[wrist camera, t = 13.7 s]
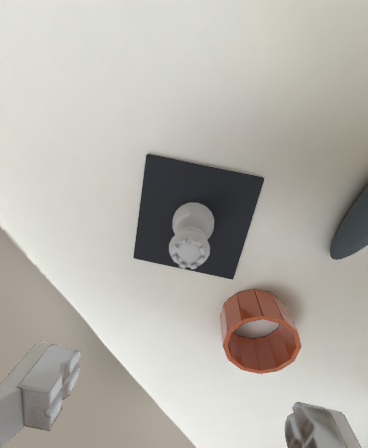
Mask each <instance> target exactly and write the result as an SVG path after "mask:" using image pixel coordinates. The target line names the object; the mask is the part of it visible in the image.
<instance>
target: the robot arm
mask: <svg viewBox="0 0 368 448" xmlns="http://www.w3.org/2000/svg"><path fill="white" fill-rule="evenodd" d="M79 358H80V351H78V350H74V349H70V348H67V347H63V346H59V345H55V344H51V343H48V342H43V341H39V342H38V343H37V344H35V345H34V346H33V347H32V348H31V350H30V351H29V352H28V353H27V354H26V355H25V356H24V358H23V359H22V360H21V361H20V362H19V363H18V364H17V365H16V367H15V368H14V369H13V370H12V371H11V372H10V373H9V374H8V376H7V377H6V378H5V379H4V380H3V381H2V382H1V383H0V447H1V446H2V445H3V444H5V443H6V442H7V441H9V440H10V439H11V438H12V437H13V436H15V435H16V434H17V433H18V432H19V431H21V430H22V429H23V428H24V426H26V427H31V428H36V429H41V430H46V431H50V429H51V427H52V425H53V424H54V422H55V420H56V418H57V417H58V415H59V413H60V411H61V410H62V400H63V399H65V398H66V397H68V396H69V395H70V393H71V392H72V390H73V388H74V386H75V383H76V381H77V378H78V375H79V369H80V366H79V364H78V363H77V362H78V360H79ZM293 411H294V413H293V414H291V415H289V416H288V417H287V419H286V422H285V437H286V442H287V446H288V448H361V446H360V444H359V442H358V440H357V438H356V436H355V434H354V433H353V431H352V429H351V427H350V425H349V423H348V421H347V419H346V417H345V416H344V415H343V414H342V412H339V411H335V410H331V409H326V408H324V407H320V406H315V405H310V404H306V403H301V402H297V403H295V404H294V406H293Z"/></svg>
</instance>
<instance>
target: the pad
mask: <svg viewBox="0 0 368 448" xmlns="http://www.w3.org/2000/svg"><path fill="white" fill-rule="evenodd" d="M263 181H264V178H262V177H258V176H253V175H248V174H243V173H238V172H233V171H228V170H223V169H218V168H214V167H209V166H204V165H199V164H194V163H189V162H184V161H179V160H174V159H170V158H165V157H160V156H155V155H150V154H147V155H146V163H145V171H144V179H143V187H142V195H141V203H140V211H139V219H138V227H137V234H136V242H135V250H134V258H135V259H140V260H144V261H149V262H154V263H158V264H163V265H168V266H172V267H177V268H181V267H179V264H177V263H176V262H175V263H174V260H173V259H172V257H171V255H170V253H169V244H170V242H171V239H172V238H173V237H174V236H175V233H174V231H173V217H174V215H175V212H176V210H178V209H179V208H180V207H181V206H182V205H184V204H187V203H190V202H191V203H200V204H202V205H204V206H206V207H207V208H208V209H209V210H210V211H211V212H212V215H213V217H214V230H213V232H212V234H211V236H210V238H209V239H207V241H208V243H209V246H210V254H209V256H208V258H207V260H206V261H205V262H204V263H202V264H201V265H200V266H197V268H195V269H192V270H191V267H185V269H186V270H191V271H196V272H200V273H205V274H210V275H214V276H219V277H224V278H228V279H233V277H234V274H235V271H236V268H237V264H238V261H239V258H240V255H241V252H242V248H243V245H244V242H245V239H246V236H247V232H248V229H249V226H250V223H251V220H252V216H253V213H254V210H255V207H256V204H257V200H258V197H259V194H260V191H261V188H262V184H263ZM182 269H183V268H182Z"/></svg>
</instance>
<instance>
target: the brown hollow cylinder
mask: <svg viewBox="0 0 368 448" xmlns="http://www.w3.org/2000/svg"><path fill="white" fill-rule="evenodd" d="M220 319H221V330H222V341H223V348H224V350H225V353H226V356H227V358H228V360H229V361H231V362H232V363H233V364H235V365H236V366H237V367H239V368H240V369H242V370H245V371H249V372H254V373H258V374H259V373H260V374H262V373H269V372H275V371H278V370H281V369H283V368H284V367H286V366H287V365H289V364H291V363H292V362H294V361H295V359H296V357H297V355H298V353H299V351H300V349H301V343H300V339H299V335H298V331H297V329H296V327H295V325H294V323H293V321H292V319H291V317H290V315H289V313H288V311H287V309H286V307H285V305H284V304H283V302H282V301H280V300H279V299H278V298H277V297H276V296H275V295H273V294H272V293H270V292H265V291H260V290H256V289H252V290H248V291H243V292H239V293H237V294H235V295H234V296H232V297H231V298H230V299H229V300H228V301H226V302H225V304H224V306H223V309H222V312H221V315H220ZM261 319H264V320H269V321H273V322H278V323H280V324H279V327H278V329H276V330H275V331H273V332H272V333H271V334H269V335H268V336H265V337H260V338H255V339H250V338H246V337H241V336H238V335H237V334H235V333H234V332H233V331H235V330H236V329H237V328H238V327H240V326H241V325H242V324H244V323H246V322H251V321H256V320H261Z"/></svg>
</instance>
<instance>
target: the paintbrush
mask: <svg viewBox="0 0 368 448" xmlns="http://www.w3.org/2000/svg"><path fill="white" fill-rule="evenodd" d="M367 245H368V186H367V187H366V188H365V190H364V191H363V192H362V193H361V195H360V196H359V197H358V199H357V200H356V202H355V203H354V204H353V206H352V207H351V209H350V210H349V212H348V213H347V215H346V217H345V218H344V220H343V222H342V223H341V225H340V227H339V229H338V231H337V233H336V235H335V237H334V240H333V242H332V245H331V250H330V255H331V257H332V259H336V260H337V259H342V258H345V257H347V256H350V255H352V254H354V253H355V252H357V251H359V250H360V249H362V248H363V247H365V246H367Z"/></svg>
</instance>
